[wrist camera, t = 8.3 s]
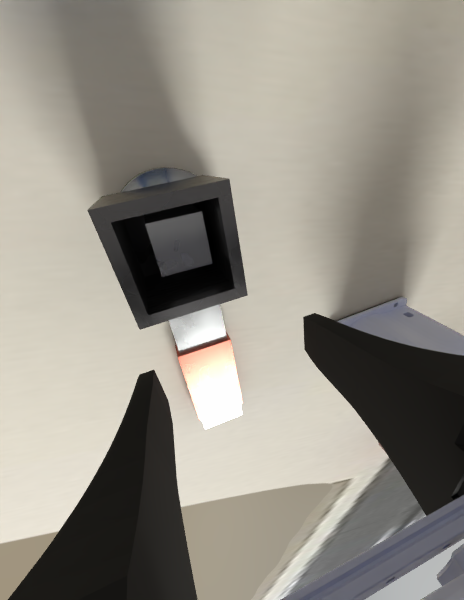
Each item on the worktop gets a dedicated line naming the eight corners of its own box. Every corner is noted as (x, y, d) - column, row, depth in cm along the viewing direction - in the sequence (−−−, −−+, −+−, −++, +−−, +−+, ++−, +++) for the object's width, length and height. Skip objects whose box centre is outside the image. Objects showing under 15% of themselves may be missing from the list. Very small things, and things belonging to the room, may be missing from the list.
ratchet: (209, 158, 16) (235, 156, 12) (250, 398, 28) (270, 439, 24) (94, 179, 15) (78, 184, 11) (187, 422, 26) (197, 471, 22)
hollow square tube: (202, 175, 15) (229, 178, 11) (220, 264, 18) (247, 295, 13) (102, 196, 14) (87, 209, 10) (138, 287, 17) (139, 329, 12)
